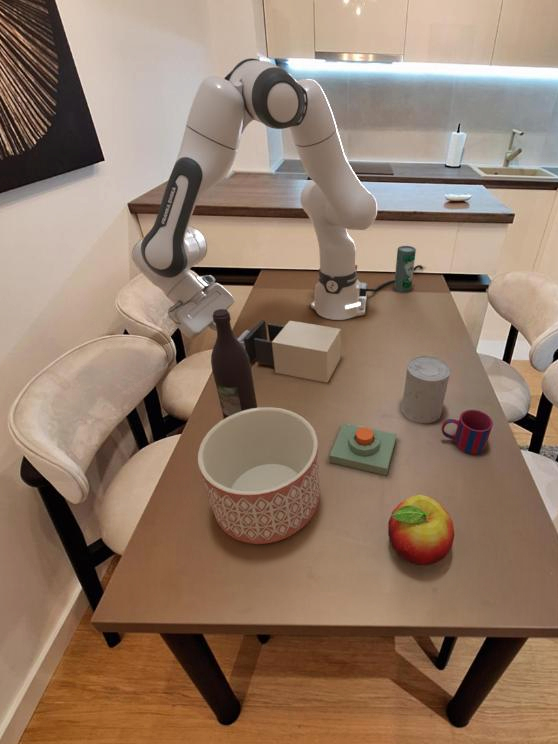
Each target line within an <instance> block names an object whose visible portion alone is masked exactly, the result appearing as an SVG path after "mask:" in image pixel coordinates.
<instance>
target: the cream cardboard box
mask: <svg viewBox="0 0 558 744" xmlns="http://www.w3.org/2000/svg"><path fill="white" fill-rule="evenodd" d="M284 326H285V327H284V328H283V329H282V330H281V332H280V333H279V334H278V335H277V336H276V338H275V339H274V340H273V341H272V348H273V357H274V366H273V367H274V372H275V374H280V375H285V376H290V377H296V378H300V379H306V380H310V381H317V382H320V383H321V382H322V383H327V384H328V383H329V381H330V379H331V377H332V375H333V373H335V370H336V368H337V366H338V364H339V362H340V360H341V357H342V356H341V355H342V354H341V353H342V352H341V351H342V350H341V347H342V346H341V343H342V342H341V339H342V337H341V336H342V334H341V333H342V332H341V331H342V329H341V328H337V327H332V326H325V325H321V324H319V325H318V324H314V323H308V322H301V321H296V320H295V321H294V320H288V322H287V323H286V324H285V325H284Z"/></svg>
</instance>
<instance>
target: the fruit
mask: <svg viewBox="0 0 558 744" xmlns="http://www.w3.org/2000/svg"><path fill="white" fill-rule="evenodd" d="M387 524H388V526H387V528H388V529H387V531H388V532H387V535H388V538H389V541H390V544H391V547H392V548H393V550H394V551H395V552H396V554H397V555H398V556H399V557H400V558H401V559H402V560H404V561H405V562H406V563H409V564H411V565H414V566H419V567H420V566H421V567H429V566H433V565H435V564H438V563H439V562H441V561H442V560H443V559H445V558H446V557H447V556H448V554H449V552H450V551H451V550H452V547H453V544H454V540H455V527H454V521H453V520H452V517H451V516H450V514H449V512H448V511H447V510H446V509H445V507H443V505H442V504H440V502H438V501H436V500H435V499H433V498H431V497H429V496H427V495H425V494H416V495H412V496H408V497H407V498H406V499H404V500H402V501H401V502H399V504H397V506H396V507H395V508H394V509H393V510H392V512H391V515H390V517H389V519H388V523H387Z"/></svg>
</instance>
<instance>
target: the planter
mask: <svg viewBox="0 0 558 744" xmlns="http://www.w3.org/2000/svg"><path fill="white" fill-rule="evenodd" d="M318 440H319V439H318V437H317V433H316V431H315V429H314V427H313V426H312V425H311V423H310V422H309V421H308V420H307V419H306V418H305V417H303V416H301V415H300V414H298V413H296V412H294V411H292V410H288V409H285V408H280V407H270V406H263V407H262V406H261V407H257V408H253V409H248V410H244V411H241V412H238V413H235V414H233V415H231V416H229V417H227V418H225V419H224V418H223V419H222V420H220V421H219V422H218V423H216V424H215V425H214V426H213V427H212V428H211V429H210V430H209V431H208V432H207V433H206V434H205V436H204V437H203V439H202V441H201V443H200V445H199V448H198V452H197V464H198V469H199V472H200V474H201V478H202V481H203V485H204V488H205V491H206V494H207V498H208V500H209V503H210V507H211V509H212V512H213V515H214V519H215V521H216V523H217V524H218V526H219V528H220V529H221V530H222V531H223V532H224V533H226V534H227V535H228V536H230V537H231V538H233V539H235V540H237V541H240V542H243V543H247V544H255V545H263V544H264V545H265V544H271V543H275V542H280V541H282V540H284V539H287V538H289V537H291V536H293V535H294V534H296V533H298V532H299V531H300V530H301V529H303V528H304V527H305V526H306V525H307V524H308V523H309V521H310V520H311V519H312V518H313V517H314V514H315V512H316V511H317V508H318V505H319V502H320V497H321V488H320V465H319V464H320V463H319V441H318Z"/></svg>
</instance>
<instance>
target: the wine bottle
mask: <svg viewBox="0 0 558 744" xmlns="http://www.w3.org/2000/svg"><path fill="white" fill-rule="evenodd" d="M213 320H214V323H215V324H216V329H217V331H216V339H215V342H214V345H213V348H212V351H211V355H210V364H211V365H210V366H211V370H212V374H213V379H214V383H215V388H216V392H217V396H218V401H219V404H220V409H221V414H222V418H223V420H224V419H225V418H227V417H229V416H231V415H233V414H235V413H238V412H241V411H244V410H248V409H253V408H258V402H257V396H256V391H255V384H254V383H255V382H254V378H253V372H252V366H251V365H252V364H250V360H249V356H248V354H247V351H246V349H245V346H244V345H242V344H241V343H240V342H239V341H238V340H237V339H238V338H237V337H236V336H235V334H234V332H233V330H232V329H233V328H232V329H231V327H232V325H231V320H232V318H231V313H230V312H229V310H228V309H227V310H225V309H219V310H216V311H214V312H213Z"/></svg>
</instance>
